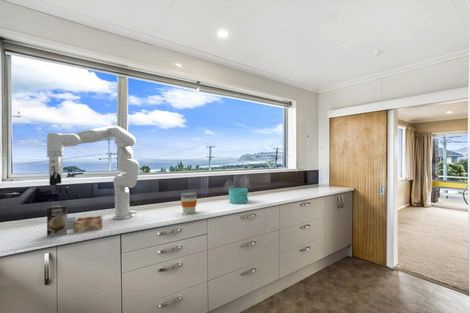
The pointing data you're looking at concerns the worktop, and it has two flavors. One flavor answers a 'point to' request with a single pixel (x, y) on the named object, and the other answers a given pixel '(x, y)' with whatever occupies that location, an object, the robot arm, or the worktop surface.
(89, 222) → the wood socket
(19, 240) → the worktop surface
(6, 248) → the worktop surface
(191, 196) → the reusable coffee cup
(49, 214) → the coffee box
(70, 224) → the small grey socket
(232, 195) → the basket
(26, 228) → the worktop surface
